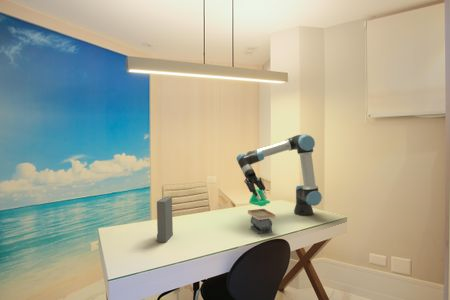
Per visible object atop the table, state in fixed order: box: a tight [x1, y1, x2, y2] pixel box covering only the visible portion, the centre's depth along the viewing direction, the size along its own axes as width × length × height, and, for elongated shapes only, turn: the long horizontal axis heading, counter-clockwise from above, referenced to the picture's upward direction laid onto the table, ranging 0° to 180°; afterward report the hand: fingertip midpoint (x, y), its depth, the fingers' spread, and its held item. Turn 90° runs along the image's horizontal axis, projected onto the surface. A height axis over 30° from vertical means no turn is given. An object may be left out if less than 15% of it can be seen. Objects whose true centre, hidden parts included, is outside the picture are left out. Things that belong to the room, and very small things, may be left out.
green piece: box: [248, 188, 271, 207], centre depth 185 cm, size 12×8×10 cm, turn 119°
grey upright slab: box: [156, 196, 174, 243], centre depth 172 cm, size 14×6×25 cm, turn 174°
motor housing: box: [247, 208, 276, 235], centre depth 185 cm, size 12×16×12 cm
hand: (262, 199), depth 183 cm, fingers closed on green piece, 4 cm apart
